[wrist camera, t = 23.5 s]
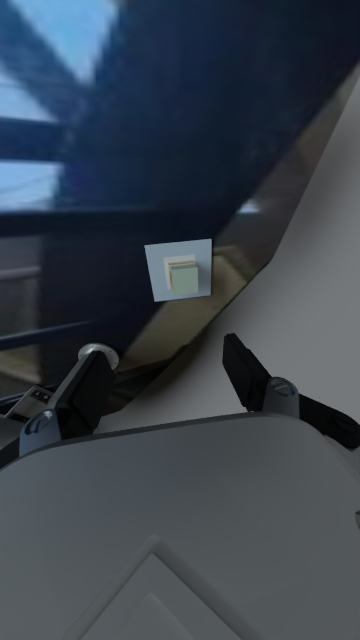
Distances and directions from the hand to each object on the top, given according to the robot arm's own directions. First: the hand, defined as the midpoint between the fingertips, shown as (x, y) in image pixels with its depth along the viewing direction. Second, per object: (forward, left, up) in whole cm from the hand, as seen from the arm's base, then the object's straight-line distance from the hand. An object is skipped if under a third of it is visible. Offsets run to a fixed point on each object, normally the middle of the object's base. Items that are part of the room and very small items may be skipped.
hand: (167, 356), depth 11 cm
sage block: (+1, -4, -24) cm, 25 cm away
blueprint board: (+1, -4, -30) cm, 31 cm away
